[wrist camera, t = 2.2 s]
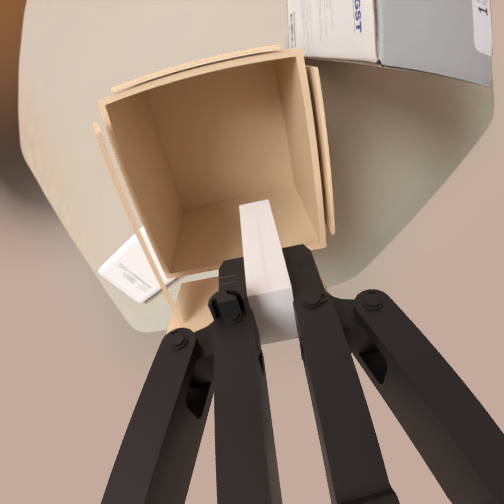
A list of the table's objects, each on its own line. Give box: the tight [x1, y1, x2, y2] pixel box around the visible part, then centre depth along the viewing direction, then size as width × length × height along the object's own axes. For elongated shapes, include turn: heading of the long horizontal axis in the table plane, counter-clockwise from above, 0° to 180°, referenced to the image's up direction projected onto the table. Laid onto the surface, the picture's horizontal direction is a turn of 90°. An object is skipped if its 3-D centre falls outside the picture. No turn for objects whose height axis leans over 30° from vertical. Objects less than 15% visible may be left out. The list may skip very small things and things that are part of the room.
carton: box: [97, 44, 335, 279], centre depth 27 cm, size 16×15×12 cm
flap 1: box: [93, 122, 183, 323], centre depth 19 cm, size 13×7×1 cm
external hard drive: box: [98, 227, 177, 304], centre depth 41 cm, size 2×8×12 cm
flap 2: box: [166, 266, 329, 334], centre depth 23 cm, size 7×11×1 cm
